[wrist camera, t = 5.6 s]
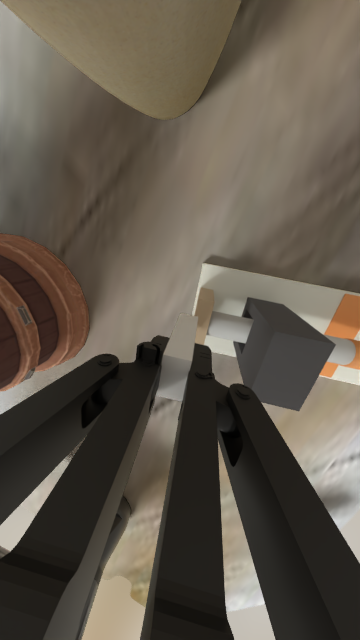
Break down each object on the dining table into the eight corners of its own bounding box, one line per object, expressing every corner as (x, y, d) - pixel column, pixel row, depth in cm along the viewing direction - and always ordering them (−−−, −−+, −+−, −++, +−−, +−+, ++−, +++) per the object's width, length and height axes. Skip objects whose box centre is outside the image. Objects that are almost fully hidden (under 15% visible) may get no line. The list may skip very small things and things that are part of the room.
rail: (186, 342, 25) (179, 369, 19) (203, 262, 21) (201, 268, 15) (380, 385, 23) (433, 428, 18) (436, 308, 19) (526, 332, 14)
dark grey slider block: (233, 342, 22) (247, 399, 14) (247, 297, 19) (275, 331, 12) (265, 349, 21) (298, 411, 13) (283, 304, 19) (336, 344, 11)
